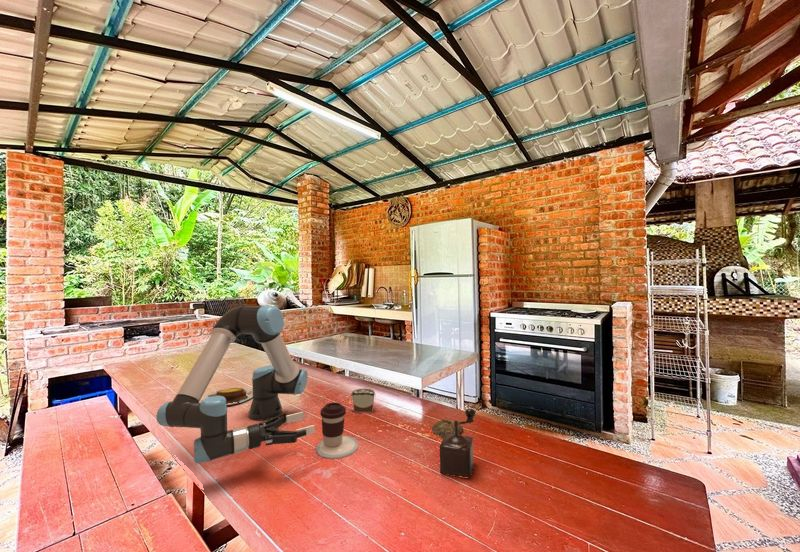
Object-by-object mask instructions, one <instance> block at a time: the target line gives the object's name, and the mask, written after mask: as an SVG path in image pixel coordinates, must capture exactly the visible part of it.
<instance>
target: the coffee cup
mask: <svg viewBox="0 0 800 552" xmlns="http://www.w3.org/2000/svg"><path fill="white" fill-rule="evenodd" d="M346 413H347V408H346V407H345V405H343V404H342V403H340V402H336V401H335V402H329V403H327V404H325V405H324V406H323V407H322V408H321V409H320V416H321V431H322V432H321V434H322V441H323V442H324V445H325V446H327V447H336V446H338V445H340V444H341V443H342V436H344V435H343V434H344V426H345V415H346Z"/></svg>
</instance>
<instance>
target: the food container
mask: <svg viewBox="0 0 800 552" xmlns="http://www.w3.org/2000/svg"><path fill="white" fill-rule="evenodd" d="M375 396H376V392H375V390H374V389H371V388H365V387H364V388H363V387H362V388H357V389H355V390H353V391H351V395H350V397H351V399H352V406H353V413H374V404H375V403H374V401H375Z"/></svg>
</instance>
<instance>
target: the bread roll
mask: <svg viewBox="0 0 800 552" xmlns="http://www.w3.org/2000/svg"><path fill="white" fill-rule="evenodd" d="M454 421H455V420H452V419H447V418H446V419H445V418H444V419H441V420H438V421H437V422H436V423H435V424H433V426H432V427H431V430H432V433H433V434H434V435H435V434H436V435H435V436H437V435H439V436H438V437H440V436H441V437H440V438H442V439H443V438H444V436H445V433H446V434H455V427H454V424H455V423H454ZM463 431H464V428H463V426H462V424H460V425H459V426H458V434H459V435H461V434H462V432H463Z"/></svg>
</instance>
